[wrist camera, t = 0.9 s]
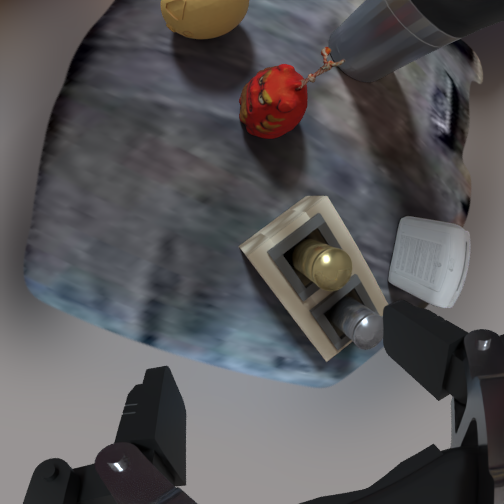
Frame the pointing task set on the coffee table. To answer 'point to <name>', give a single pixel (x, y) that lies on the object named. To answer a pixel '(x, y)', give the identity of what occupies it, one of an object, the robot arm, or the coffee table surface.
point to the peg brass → (322, 264)
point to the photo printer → (430, 260)
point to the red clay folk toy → (277, 99)
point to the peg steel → (357, 322)
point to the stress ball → (203, 16)
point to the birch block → (302, 288)
